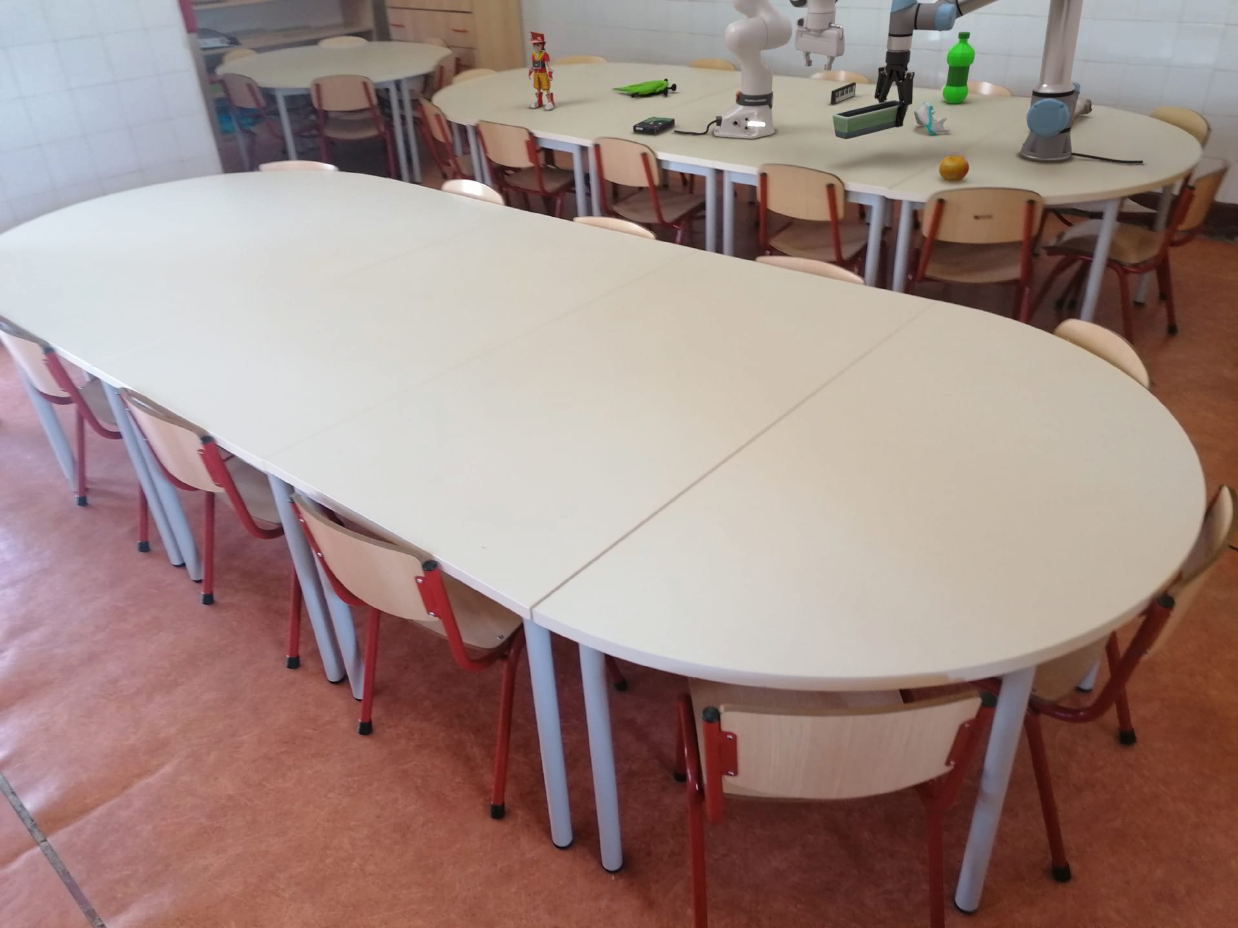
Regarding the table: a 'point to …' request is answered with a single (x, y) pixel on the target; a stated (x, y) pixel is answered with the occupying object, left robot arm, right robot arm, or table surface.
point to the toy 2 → (648, 88)
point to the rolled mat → (1082, 107)
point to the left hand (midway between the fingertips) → (817, 68)
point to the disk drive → (653, 125)
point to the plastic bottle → (958, 69)
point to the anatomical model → (929, 119)
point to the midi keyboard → (843, 93)
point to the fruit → (954, 168)
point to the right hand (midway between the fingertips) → (890, 124)
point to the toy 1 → (541, 71)
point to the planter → (866, 119)
